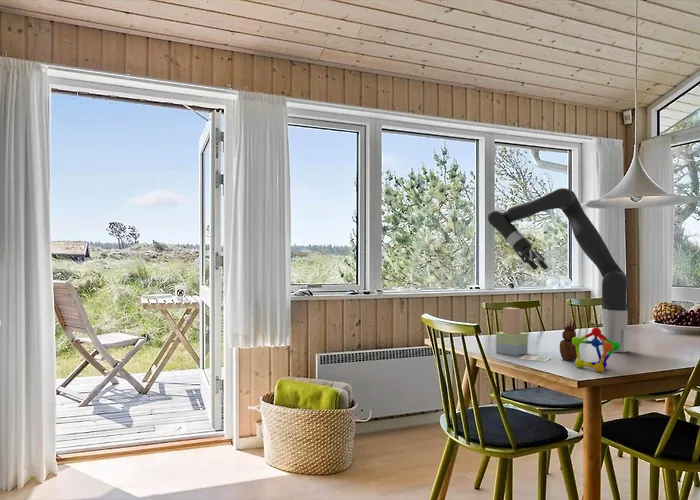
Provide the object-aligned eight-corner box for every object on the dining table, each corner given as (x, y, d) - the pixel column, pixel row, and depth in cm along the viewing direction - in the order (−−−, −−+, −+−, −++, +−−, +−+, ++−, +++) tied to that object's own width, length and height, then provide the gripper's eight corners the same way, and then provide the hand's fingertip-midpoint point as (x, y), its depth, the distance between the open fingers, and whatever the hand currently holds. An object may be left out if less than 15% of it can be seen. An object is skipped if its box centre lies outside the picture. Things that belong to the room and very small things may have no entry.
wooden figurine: (578, 359, 213) (578, 320, 213) (579, 361, 208) (579, 321, 208) (559, 357, 215) (559, 319, 215) (559, 360, 210) (560, 320, 210)
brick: (520, 333, 224) (520, 308, 224) (514, 334, 221) (514, 309, 221) (509, 331, 228) (509, 307, 228) (502, 332, 225) (503, 308, 225)
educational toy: (623, 372, 195) (628, 330, 194) (606, 377, 187) (611, 333, 186) (580, 361, 207) (585, 321, 206) (563, 365, 198) (567, 324, 197)
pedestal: (527, 353, 225) (527, 333, 225) (516, 355, 218) (517, 335, 218) (506, 350, 231) (507, 330, 231) (496, 352, 224) (496, 332, 224)
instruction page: (550, 358, 213) (550, 357, 213) (545, 361, 206) (545, 361, 206) (524, 355, 219) (524, 354, 219) (518, 358, 212) (518, 357, 212)
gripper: (515, 236, 249) (538, 262, 241) (532, 237, 259) (555, 262, 250) (505, 248, 253) (527, 274, 245) (522, 248, 263) (544, 274, 254)
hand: (541, 268), depth 247 cm, fingers open, 8 cm apart
